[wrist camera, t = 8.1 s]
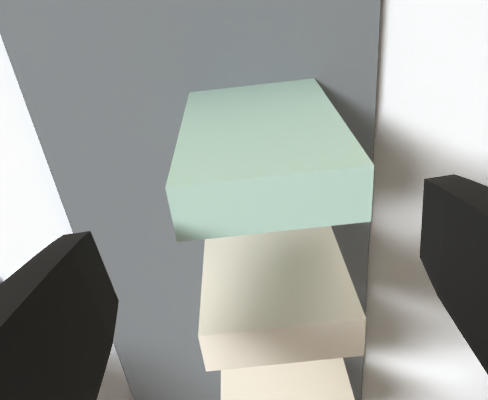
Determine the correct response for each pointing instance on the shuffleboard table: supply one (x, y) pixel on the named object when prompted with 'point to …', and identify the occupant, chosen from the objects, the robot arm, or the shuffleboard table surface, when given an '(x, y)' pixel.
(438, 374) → the shuffleboard table surface
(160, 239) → the slate mat
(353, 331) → the domino
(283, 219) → the domino
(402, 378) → the shuffleboard table surface
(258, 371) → the domino
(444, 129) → the shuffleboard table surface
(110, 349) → the robot arm
